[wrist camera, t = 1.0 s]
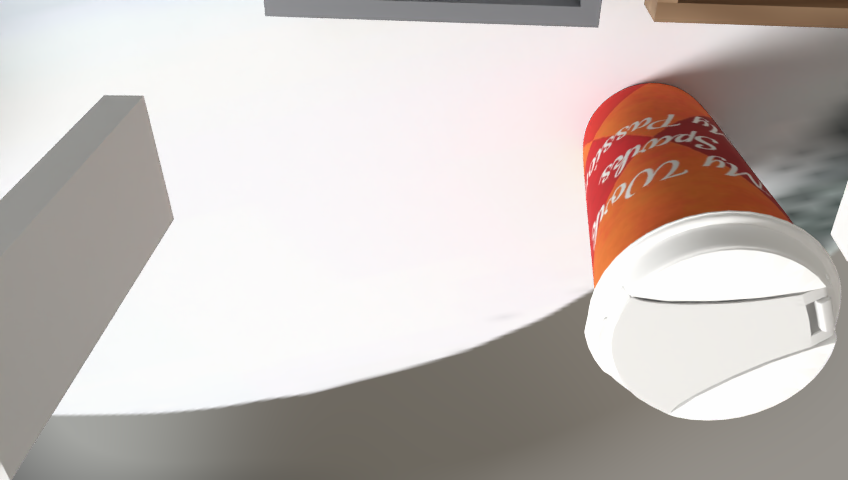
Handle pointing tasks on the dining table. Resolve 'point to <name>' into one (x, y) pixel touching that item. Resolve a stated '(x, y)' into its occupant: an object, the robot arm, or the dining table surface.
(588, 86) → the dining table surface
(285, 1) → the holder box
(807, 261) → the coffee cup
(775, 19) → the tray
